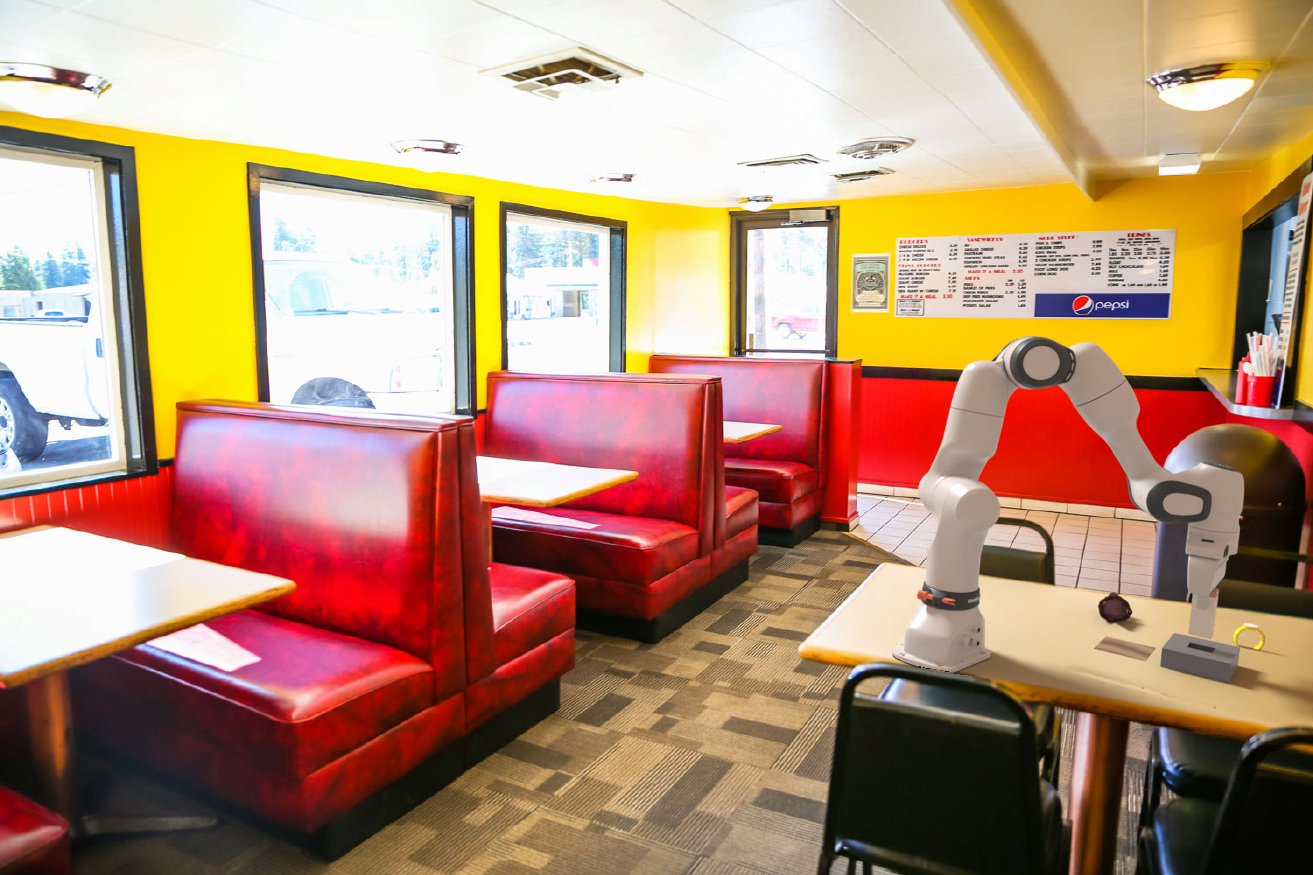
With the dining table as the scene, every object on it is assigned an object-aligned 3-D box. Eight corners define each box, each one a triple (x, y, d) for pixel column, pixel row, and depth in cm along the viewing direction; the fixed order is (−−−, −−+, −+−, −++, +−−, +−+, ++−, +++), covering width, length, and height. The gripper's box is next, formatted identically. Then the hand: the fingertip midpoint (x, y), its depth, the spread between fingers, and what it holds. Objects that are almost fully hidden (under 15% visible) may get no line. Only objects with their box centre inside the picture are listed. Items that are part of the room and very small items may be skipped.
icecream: (1141, 608, 195) (1131, 595, 209) (1107, 596, 198) (1099, 584, 212) (1130, 635, 196) (1121, 620, 210) (1096, 623, 199) (1089, 609, 213)
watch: (1258, 650, 189) (1263, 624, 188) (1264, 654, 186) (1270, 629, 185) (1229, 646, 190) (1234, 620, 189) (1235, 650, 187) (1240, 625, 186)
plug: (1210, 639, 173) (1216, 592, 171) (1188, 633, 175) (1193, 587, 174) (1213, 635, 175) (1219, 588, 174) (1190, 629, 178) (1196, 584, 176)
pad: (1144, 665, 178) (1145, 660, 178) (1093, 652, 185) (1093, 648, 185) (1155, 652, 186) (1155, 647, 186) (1105, 640, 192) (1106, 636, 192)
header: (1228, 687, 168) (1230, 663, 167) (1159, 670, 176) (1162, 647, 175) (1237, 669, 177) (1240, 647, 176) (1171, 654, 185) (1174, 632, 184)
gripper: (1203, 530, 182) (1195, 591, 184) (1184, 546, 167) (1176, 613, 169) (1238, 535, 178) (1230, 598, 180) (1221, 553, 163) (1213, 621, 165)
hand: (1203, 606), depth 174 cm, fingers closed on plug, 3 cm apart
